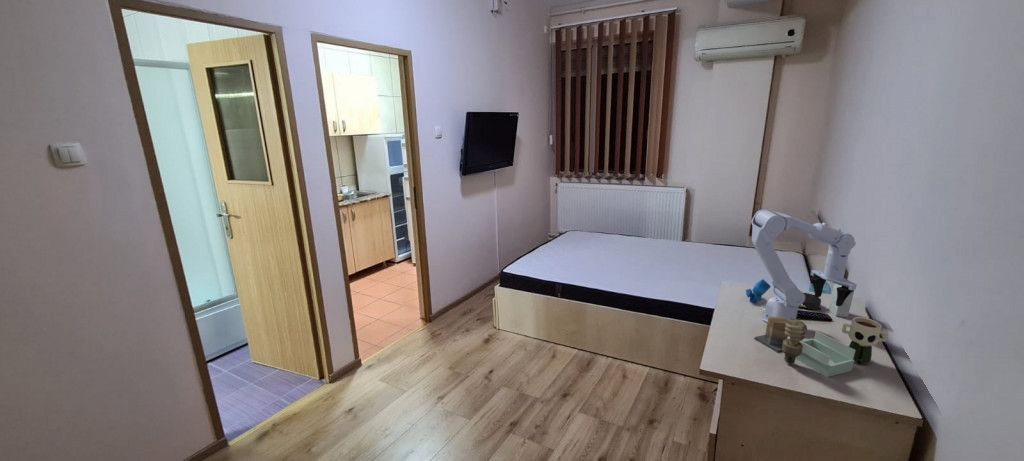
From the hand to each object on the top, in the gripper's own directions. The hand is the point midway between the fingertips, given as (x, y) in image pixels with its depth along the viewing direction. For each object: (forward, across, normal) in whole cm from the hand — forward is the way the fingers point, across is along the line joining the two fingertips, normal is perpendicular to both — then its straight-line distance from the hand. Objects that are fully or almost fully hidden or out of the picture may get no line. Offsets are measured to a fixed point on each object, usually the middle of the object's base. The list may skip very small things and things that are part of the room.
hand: (828, 301), depth 152 cm
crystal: (+10, +24, +5) cm, 27 cm away
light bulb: (+10, -14, +33) cm, 37 cm away
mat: (+10, -3, +26) cm, 28 cm away
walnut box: (+9, -3, +26) cm, 28 cm away
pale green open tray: (+10, -16, +23) cm, 29 cm away
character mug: (+10, -19, +10) cm, 24 cm away
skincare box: (+10, +6, -15) cm, 19 cm away
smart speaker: (+10, +14, -10) cm, 20 cm away
